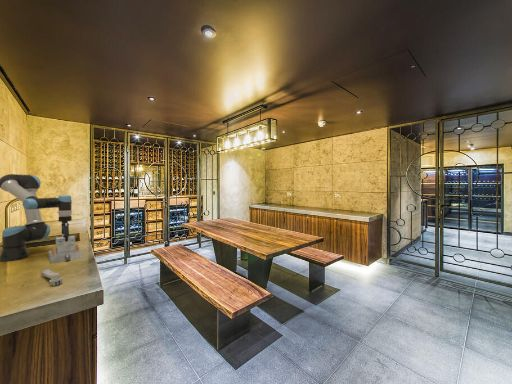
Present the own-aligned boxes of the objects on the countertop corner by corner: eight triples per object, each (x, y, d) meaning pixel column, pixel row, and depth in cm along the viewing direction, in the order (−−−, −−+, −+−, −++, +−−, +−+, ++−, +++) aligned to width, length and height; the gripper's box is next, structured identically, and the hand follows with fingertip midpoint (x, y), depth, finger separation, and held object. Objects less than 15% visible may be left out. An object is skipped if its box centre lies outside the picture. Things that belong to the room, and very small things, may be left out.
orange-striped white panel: (48, 257, 171) (48, 246, 171) (78, 252, 184) (78, 242, 184) (50, 264, 155) (50, 253, 155) (83, 258, 168) (83, 248, 168)
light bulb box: (73, 248, 176) (73, 235, 176) (75, 250, 172) (75, 236, 172) (55, 251, 168) (55, 237, 168) (57, 253, 164) (57, 238, 164)
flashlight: (50, 267, 139) (63, 271, 124) (51, 278, 139) (63, 283, 124) (39, 270, 135) (50, 273, 120) (39, 281, 134) (51, 286, 120)
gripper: (56, 214, 176) (57, 241, 176) (60, 218, 158) (60, 248, 159) (69, 213, 181) (69, 240, 182) (73, 217, 164) (74, 246, 164)
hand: (65, 243), depth 170 cm, fingers open, 13 cm apart
